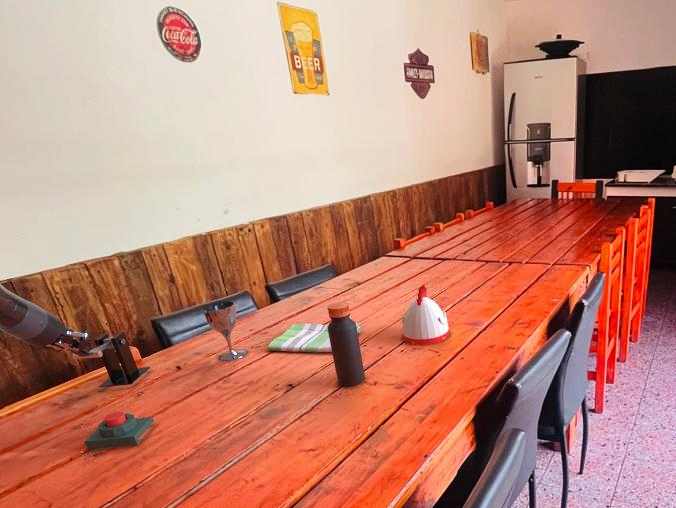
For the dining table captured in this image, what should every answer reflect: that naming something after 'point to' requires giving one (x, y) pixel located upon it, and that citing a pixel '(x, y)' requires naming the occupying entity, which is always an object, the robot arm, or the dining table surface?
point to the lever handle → (97, 350)
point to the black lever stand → (126, 360)
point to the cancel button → (115, 419)
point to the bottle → (345, 345)
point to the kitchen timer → (424, 321)
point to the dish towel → (304, 339)
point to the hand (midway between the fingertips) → (85, 352)
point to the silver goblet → (223, 324)
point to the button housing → (119, 433)
